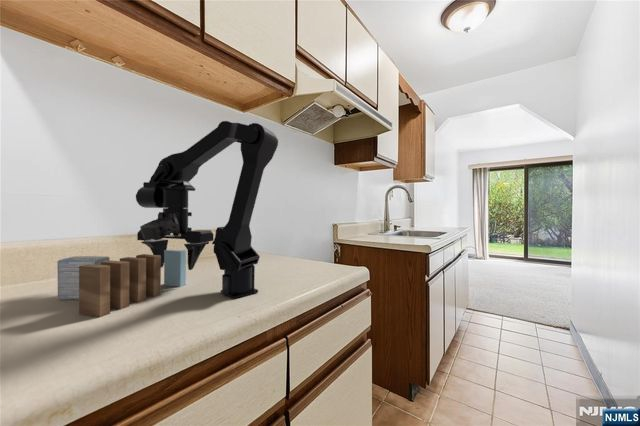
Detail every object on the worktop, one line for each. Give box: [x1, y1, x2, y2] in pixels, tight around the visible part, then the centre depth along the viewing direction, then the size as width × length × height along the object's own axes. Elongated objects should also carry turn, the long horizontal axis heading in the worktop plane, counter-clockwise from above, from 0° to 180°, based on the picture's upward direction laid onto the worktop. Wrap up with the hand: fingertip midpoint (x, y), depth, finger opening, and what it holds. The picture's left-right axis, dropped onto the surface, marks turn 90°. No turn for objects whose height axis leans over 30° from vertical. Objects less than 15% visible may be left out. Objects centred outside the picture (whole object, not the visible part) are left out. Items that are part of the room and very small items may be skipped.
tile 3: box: [119, 256, 147, 304], centre depth 56 cm, size 2×5×9 cm, turn 77°
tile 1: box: [163, 248, 187, 288], centre depth 67 cm, size 2×5×9 cm, turn 76°
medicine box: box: [56, 255, 111, 300], centre depth 57 cm, size 8×4×9 cm, turn 92°
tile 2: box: [135, 253, 162, 298], centre depth 59 cm, size 2×5×9 cm, turn 77°
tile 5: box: [78, 264, 111, 318], centre depth 48 cm, size 2×5×9 cm, turn 77°
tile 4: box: [101, 259, 130, 311], centre depth 52 cm, size 2×5×9 cm, turn 77°
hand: (175, 268), depth 67 cm, fingers open, 9 cm apart
